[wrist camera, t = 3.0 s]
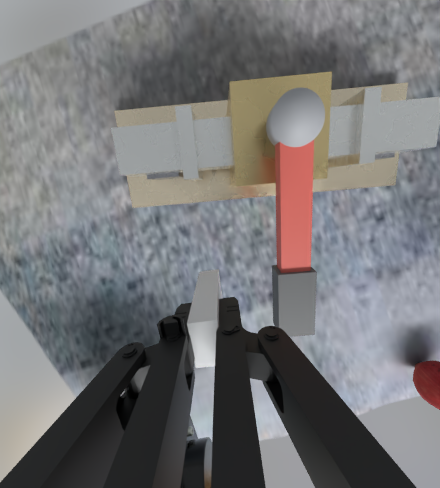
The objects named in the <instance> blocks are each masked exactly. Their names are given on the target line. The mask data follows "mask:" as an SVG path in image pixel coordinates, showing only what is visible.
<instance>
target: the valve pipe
mask: <svg viewBox="0 0 440 488" xmlns="http://www.w3.org/2000/svg"><path fill="white" fill-rule="evenodd" d="M331 83H332V72H322V73H312V74H301V75H291V76H281V77H271V78H261V79H250V80H240V81H230V82H229V92H228V100H222V101H212V102H201V103H191V104H180V105H170V106H160V107H149V108H139V109H129V110H118V111H114V112H115V117H116V122H117V127H115V128H111V132H112V137H113V142H114V147H115V152H116V157H117V162H118V167H119V172H120V175H122V176H127V180H128V186H129V191H130V196H131V201H132V207H133V208H137V207H149V206H160V205H172V204H183V203H195V202H206V201H218V200H229V199H241V198H252V197H264V196H275V195H276V172H275V146H274V145H273V144H272V143H271V141H270V140H269V138H268V135H267V131H266V123H267V118H268V115H269V113H270V111H271V110H272V108H273V107H274V106H275V104H276V103H277V101H278V100H279V99H280V97H281V96H282V95H283V94H285V93H286V92H287V91H289V90H291V89H294V88H308V89H310V90H312V91H314V92H315V93H316V94H317V95H318V96H319V97H320V98H321V100H322V102H323V105H324V108H325V120H324V124H323V127H322V129H321V131H320V133H319V134H318V136H317V137H316V138H315V139H314V160H313V192H321V191H333V190H344V189H356V188H367V187H379V186H390V185H395V183H396V175H397V167H398V159H399V153H403V152H409V151H415V150H420V149H426V148H432V147H436V143H437V137H438V131H439V125H440V97H431V98H421V99H410V100H406V95H407V87H408V83H399V84H388V85H378V86H367V87H357V88H347V89H336V90H331Z"/></svg>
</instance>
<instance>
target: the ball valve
mask: <svg viewBox="0 0 440 488" xmlns="http://www.w3.org/2000/svg"><path fill="white" fill-rule="evenodd" d="M211 470H212V441H211V439H210V438H209V437H206V438H200V439H198V437H197V434H196V431H195V428H194V426H193V423H192V420H191V417H190V418H189V426H188V434H187V441H186V449H185V457H184V464H183V472H182V480H181V487H180V488H211Z"/></svg>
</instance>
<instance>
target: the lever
mask: <svg viewBox="0 0 440 488" xmlns="http://www.w3.org/2000/svg"><path fill="white" fill-rule="evenodd" d="M324 120H325V108H324V105H323V102H322V100H321V98H320V97H319V96H318V95H317V94H316V93H315V92H314V91H312V90H310V89H308V88H294V89H291V90H289V91H287V92H286V93H285V94H283V95H282V96H281V97H280V99H279V100H278V101H277V103H276V104H275V106H274V107H273V108H272V110H271V111H270V113H269V115H268V118H267V123H266V131H267V135H268V138H269V140H270V141H271V143H272V144H273V145H274V146H275V172H276V232H277V265H273V266H272V283H273V323H274V325H275V326H276V327H279V328H281V329H282V330H284V331H285V332H286V334H287V335H288V336H289V337H291V336H305V335H315V307H316V279H317V272H316V271H315V270H314V269H313V268H312V267H311V234H312V197H313V160H314V139H315V138H316V137H317V136H318V134H319V133H320V131H321V129H322V127H323V124H324Z"/></svg>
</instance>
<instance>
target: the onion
mask: <svg viewBox="0 0 440 488" xmlns="http://www.w3.org/2000/svg"><path fill="white" fill-rule="evenodd" d="M413 382H414V384H415V387H416V389H417V391H418V393H419V394H420V395H421V396H422V398H423V399H425V400H426V401H427V402H428V403H430V404H431V405H433V406H434V407H436V408H438V409H439V410H440V362H439V361H425V362H421V363H417V364H416V365H415V370H414V374H413Z"/></svg>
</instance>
